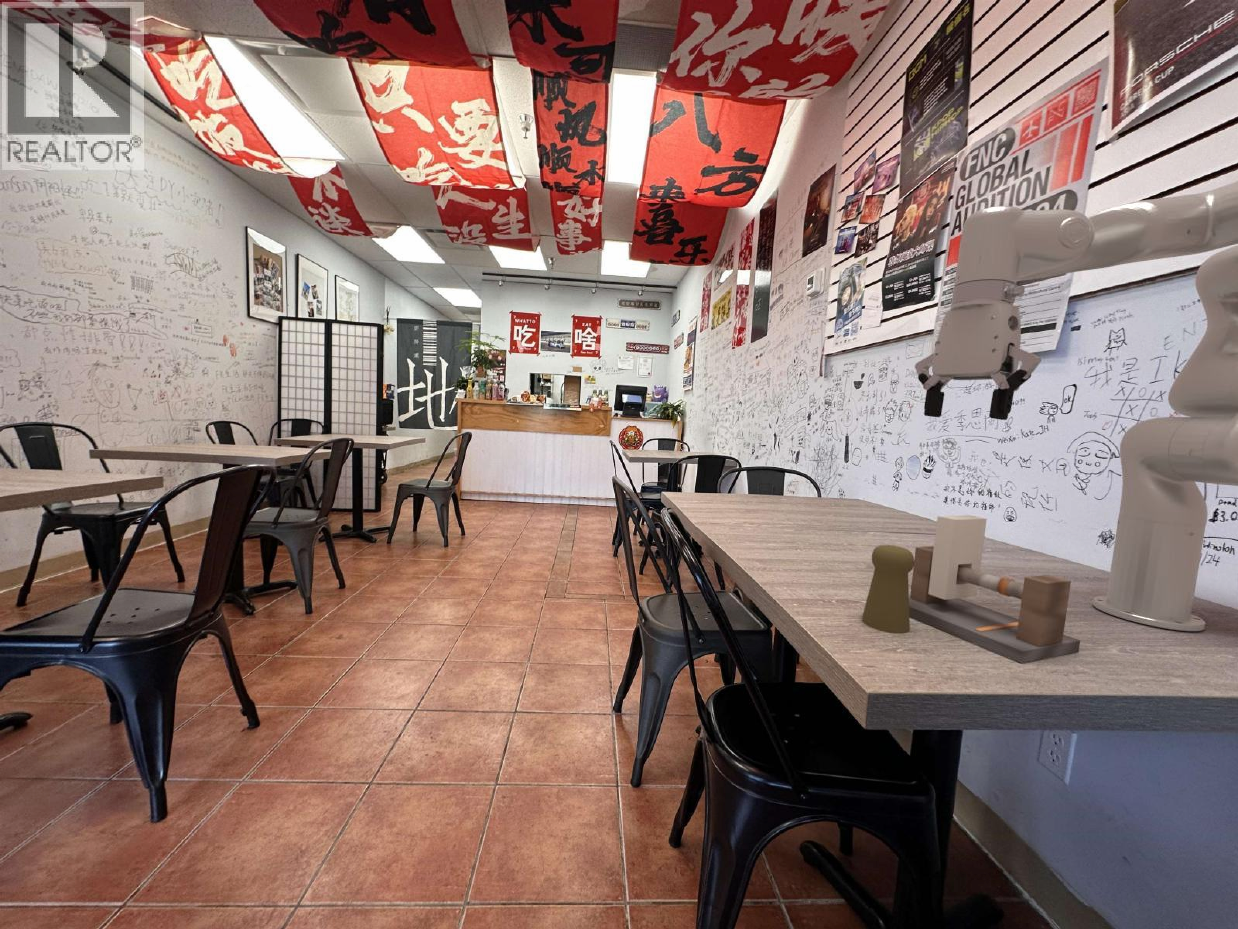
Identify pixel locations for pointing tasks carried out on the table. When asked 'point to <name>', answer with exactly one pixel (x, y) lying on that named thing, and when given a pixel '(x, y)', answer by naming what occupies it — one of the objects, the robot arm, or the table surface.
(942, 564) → the collar
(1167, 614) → the robot arm
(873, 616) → the olive green pawn
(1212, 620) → the table surface
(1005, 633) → the rod board
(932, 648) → the table surface
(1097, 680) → the table surface
